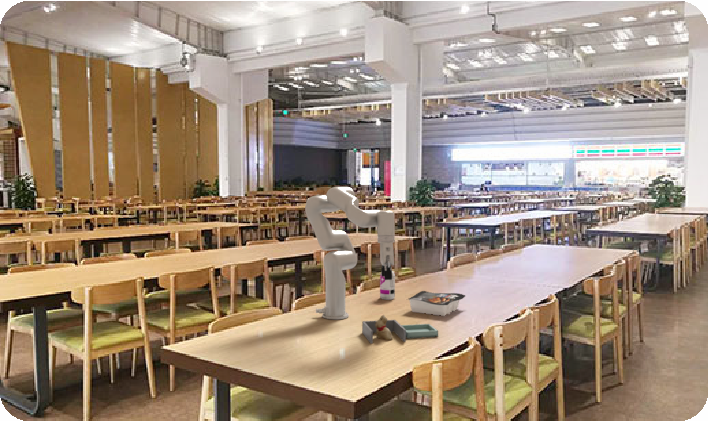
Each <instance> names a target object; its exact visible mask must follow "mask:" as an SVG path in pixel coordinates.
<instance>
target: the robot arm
mask: <svg viewBox="0 0 708 421" xmlns="http://www.w3.org/2000/svg"><path fill="white" fill-rule="evenodd" d="M359 205H360V201H359V199H358V197H356V193H355V191H354V190H353V189H352V188H351V187H349V186H335V187H334V186H333V187H330V188H329V189H328V190H327V192H326V194H324V195H323V194H321V195H319V194H317V195H313V196H310V197H309V198H308V199H307V200H306V203H305V207H304V210H305V215H306V219H307V221H308V222H309V223H310V225H311V227H312V230H313V232H314V235H315V238H316V240H317V242H318V244H319V247H320V248H321V250H323V251H327V252H328V251H329V252H328V253H326V254H325V255H324V257H323V259H322V260H323V262H322V263H323V269H324V274H325V275H324V276H325V305H324V306H323V307H322V308H316V309H315V313H316V314H321V315H322V318H323V319H327V320H344V319H347V318H349V313H348V312H346V278H345V274H344V273H343V271H345V270H346V271H347V270H350V269H353V268H355V267H356V265H357V264H358V257H357V254H356V250H355V249H354V246H353V243H352V241H351V239H350V236H349V235H348V233H347V232H345V231H344V230H341V229H338V230H337V229H335V230H334V229H333V228H332V226H331V224H330V221H329V219H328V218H327V217H326V216H325V215H324V214H322V213H334V212H338V211H340V210H341V211H342V212H344V213H345V216H346V218H347V219H348V220H349V221H350V222H351V223H353V224H354V225H356V226H358V227H359V228H362V229H364V228H366V229H367V228H374V227H375V228H376V229H377V231H376V232H377V233H376V234H377V235H376V236H377V243H378V244H379V254H380V255H379V256H380V260H379V261H380V264H381V270H380V271H381V272H380V274H381V276H384V279H385V280H392V271H393V270H392V266H394V265H395V258H394V256H395V254H394V253H395V252H394V243H395V242H396V236H395V235H396V234H395V233H396V232H395V213H394V211H392V210H381V209H369V210H368V209H367V210H363V209H361V208H359Z"/></svg>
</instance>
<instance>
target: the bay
mask: <svg viewBox="0 0 708 421" xmlns="http://www.w3.org/2000/svg"><path fill="white" fill-rule="evenodd" d="M376 321H377V320H366V321H365V320H364V321H363V320H362V321H361V322H362V324H361V326H362V334H363V336H364V337H365V338H366V339H367V341H368V342H369V343H370V344H371V345H372V344H373V341H374V339H373V335H374V333H376V330H377V328H376V327H375V323H376ZM386 328H388V329H389V330H390V331H391V333H394V334H395V335H396V336H397V337H398V338H399V339H400V340H401V341H402V342H405V343H406V341H407V340H406V339H407V338H406V329H405V328H404V327H402V326H401V323H399V322H398V321H397V320H396V319H387V322H386ZM376 334H377V333H376Z"/></svg>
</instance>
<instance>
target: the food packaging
mask: <svg viewBox="0 0 708 421" xmlns="http://www.w3.org/2000/svg"><path fill="white" fill-rule="evenodd" d="M465 297H466V295H465V294H463V293H455V292H453V293H449V292H447V293H445V292H443V293H442V292H430V291H427V290H421V291H419V292H417V293H416V294H414V295H412V296H411V297H408V298H407V299H406V300H409V304H410V309H411V312H412V313H417V314H424V313H426V314H427V315H431V314H433V316H439V315H441V317H446V316H447V315H446V314H449V315H450V314H451V313H452V312H456V311H455V310H456V309H457V308H459V304H460V300H463V299H465ZM457 310H458V309H457ZM450 312H451V313H450ZM445 315H446V316H445Z"/></svg>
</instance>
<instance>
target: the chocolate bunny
mask: <svg viewBox="0 0 708 421" xmlns="http://www.w3.org/2000/svg"><path fill="white" fill-rule="evenodd" d="M387 320H388V317H386V316H385V314H383V315H381V316H380V317H379V318H378V319H377V320H375V321H376V323H375V327H376V328H377V330H376V338H377V339H379V340H385V341H392V340H393V334H392V332H391V331H390V330H389V329H388V328H386V322H387Z"/></svg>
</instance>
